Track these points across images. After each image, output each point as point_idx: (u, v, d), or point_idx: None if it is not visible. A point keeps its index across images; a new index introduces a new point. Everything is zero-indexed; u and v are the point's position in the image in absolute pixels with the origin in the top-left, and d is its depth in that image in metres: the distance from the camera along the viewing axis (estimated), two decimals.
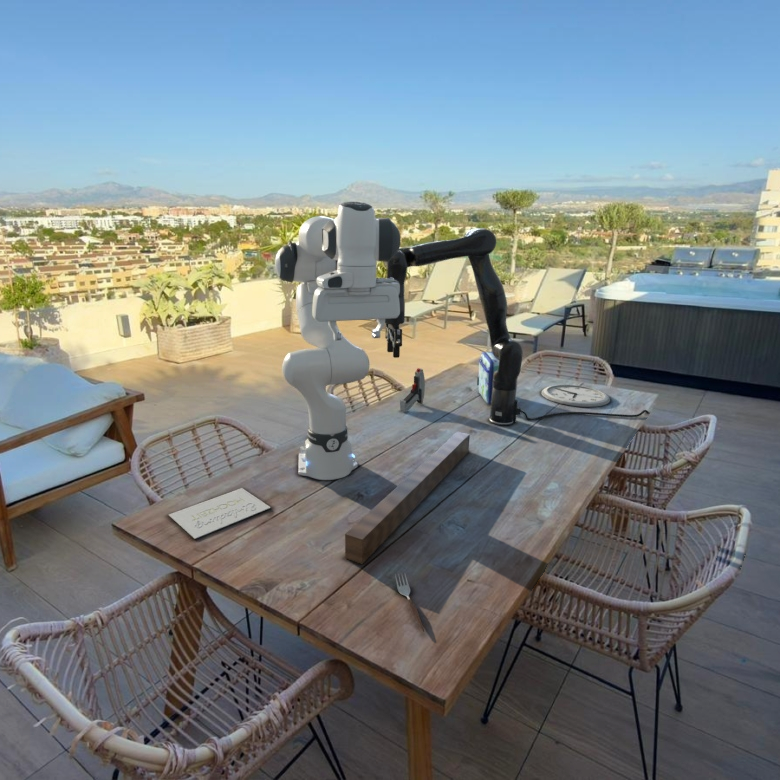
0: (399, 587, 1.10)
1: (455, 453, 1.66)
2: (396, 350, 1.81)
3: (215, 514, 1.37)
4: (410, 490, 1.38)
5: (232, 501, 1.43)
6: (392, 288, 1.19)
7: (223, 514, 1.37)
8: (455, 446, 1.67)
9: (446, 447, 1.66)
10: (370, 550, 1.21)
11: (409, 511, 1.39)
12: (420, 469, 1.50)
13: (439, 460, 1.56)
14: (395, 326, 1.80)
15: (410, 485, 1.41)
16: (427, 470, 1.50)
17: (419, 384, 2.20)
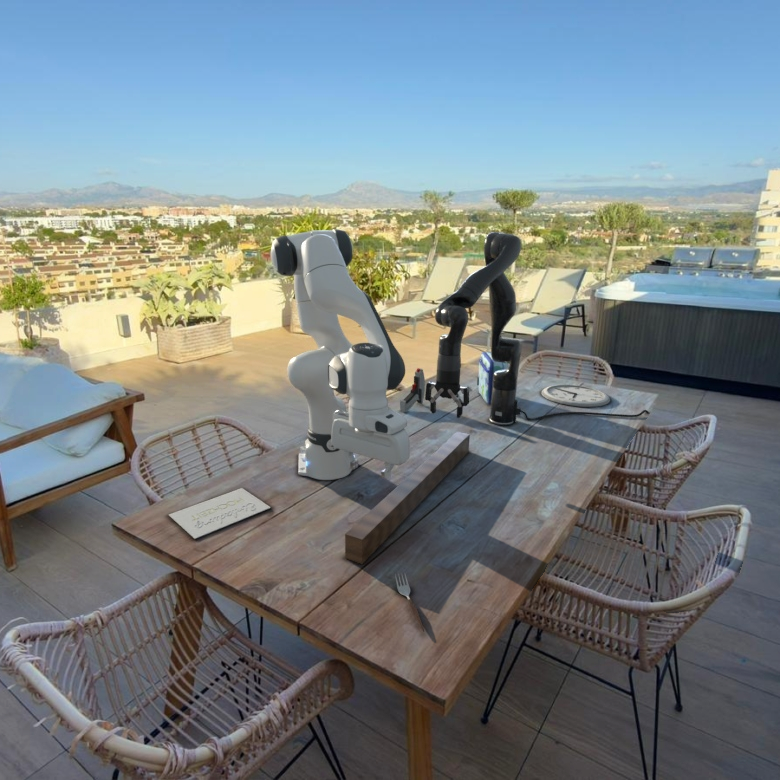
0: (399, 587, 1.10)
1: (455, 453, 1.66)
2: None
3: (215, 514, 1.37)
4: (410, 490, 1.38)
5: (232, 501, 1.43)
6: None
7: (223, 514, 1.37)
8: (455, 446, 1.67)
9: (446, 447, 1.66)
10: (370, 550, 1.21)
11: (409, 511, 1.39)
12: (420, 469, 1.50)
13: (439, 460, 1.56)
14: None
15: (410, 485, 1.41)
16: (427, 470, 1.50)
17: (419, 384, 2.20)
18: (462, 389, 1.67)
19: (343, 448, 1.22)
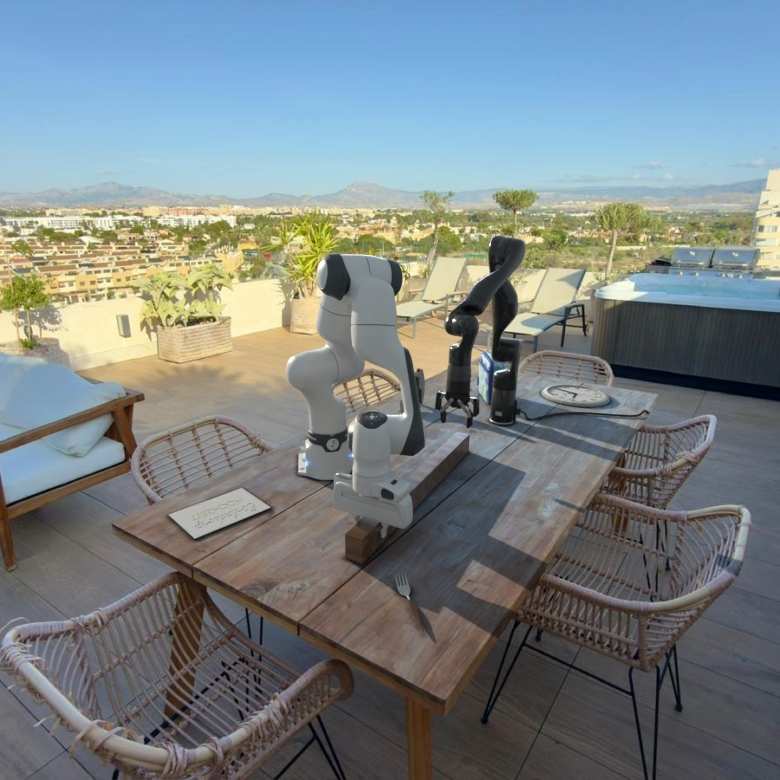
0: (399, 587, 1.10)
1: (455, 453, 1.66)
2: None
3: (215, 514, 1.37)
4: (410, 490, 1.38)
5: (232, 501, 1.43)
6: None
7: (223, 514, 1.37)
8: (455, 446, 1.67)
9: (446, 447, 1.66)
10: (370, 550, 1.21)
11: None
12: (420, 469, 1.50)
13: (439, 460, 1.56)
14: None
15: (410, 485, 1.41)
16: (427, 470, 1.50)
17: (419, 384, 2.20)
18: (472, 399, 1.64)
19: (345, 510, 1.25)
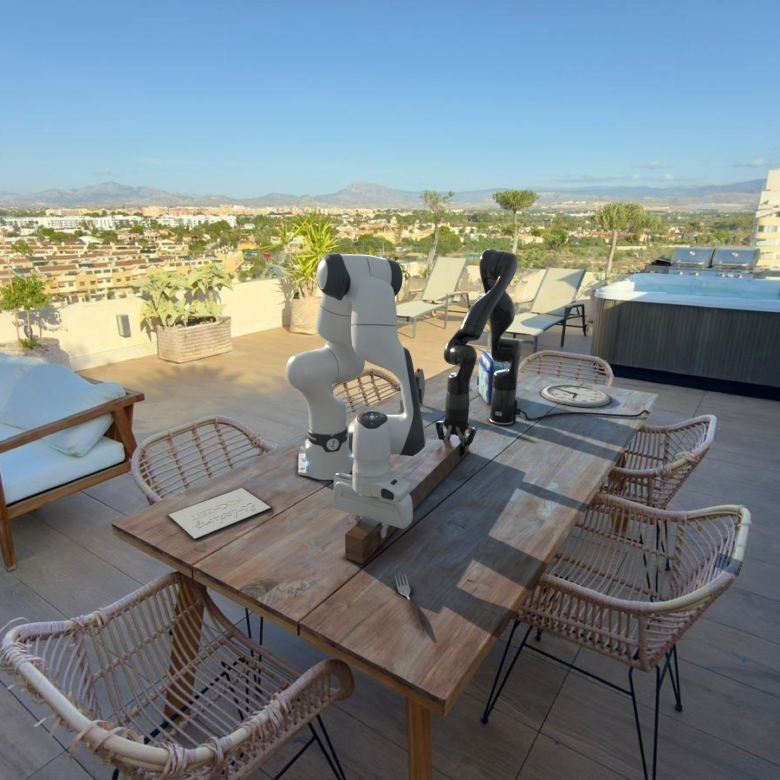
0: (399, 587, 1.10)
1: (455, 453, 1.66)
2: None
3: (215, 514, 1.37)
4: (410, 490, 1.38)
5: (232, 501, 1.43)
6: None
7: (223, 514, 1.37)
8: (455, 446, 1.67)
9: (446, 447, 1.66)
10: (370, 550, 1.21)
11: None
12: (420, 469, 1.50)
13: (439, 460, 1.56)
14: None
15: (410, 485, 1.41)
16: (427, 470, 1.50)
17: (419, 384, 2.20)
18: (470, 429, 1.67)
19: (345, 510, 1.25)
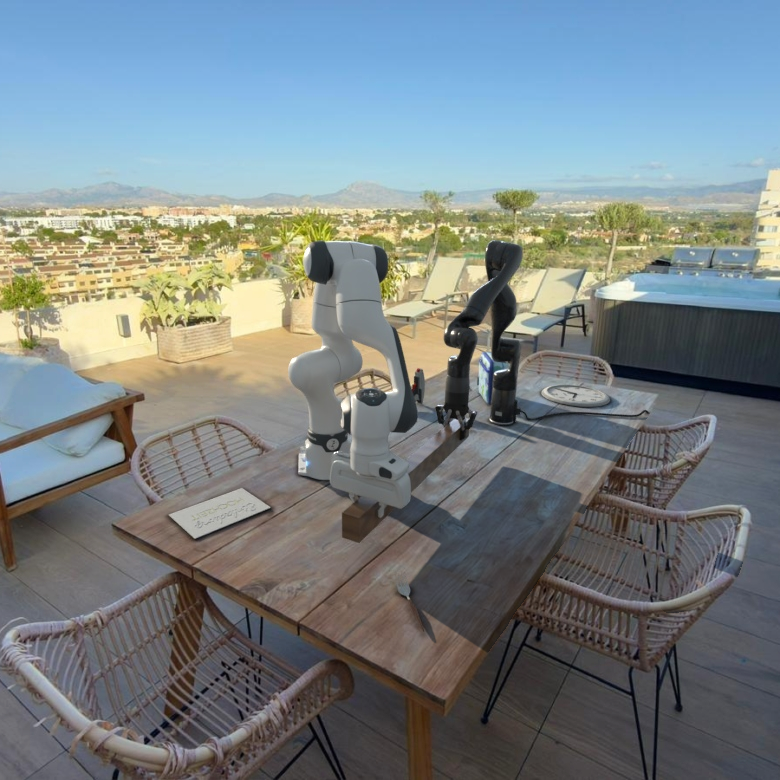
0: (399, 587, 1.10)
1: (455, 437, 1.64)
2: None
3: (215, 514, 1.37)
4: (408, 471, 1.37)
5: (232, 501, 1.43)
6: None
7: (223, 514, 1.37)
8: (455, 430, 1.65)
9: (446, 431, 1.64)
10: (367, 529, 1.20)
11: None
12: (419, 451, 1.49)
13: (439, 443, 1.55)
14: None
15: None
16: (426, 453, 1.48)
17: (419, 384, 2.20)
18: (470, 413, 1.65)
19: (342, 489, 1.23)
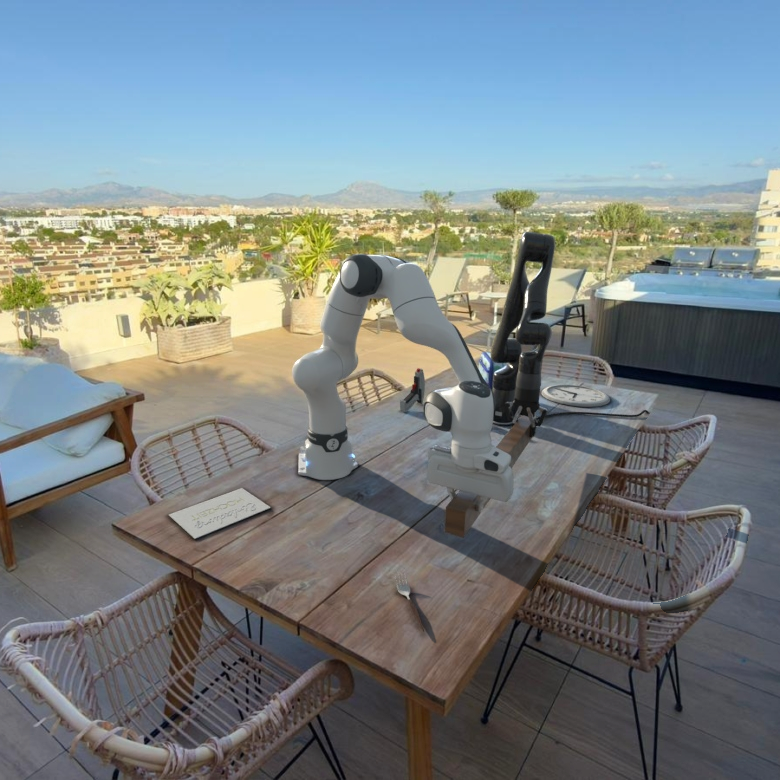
0: (399, 587, 1.10)
1: (526, 433, 1.64)
2: None
3: (215, 514, 1.37)
4: None
5: (232, 501, 1.43)
6: None
7: (223, 514, 1.37)
8: (526, 427, 1.64)
9: (517, 428, 1.63)
10: (469, 524, 1.18)
11: None
12: (499, 447, 1.48)
13: (515, 439, 1.54)
14: None
15: None
16: (506, 449, 1.47)
17: (419, 384, 2.20)
18: (541, 409, 1.65)
19: (440, 484, 1.22)
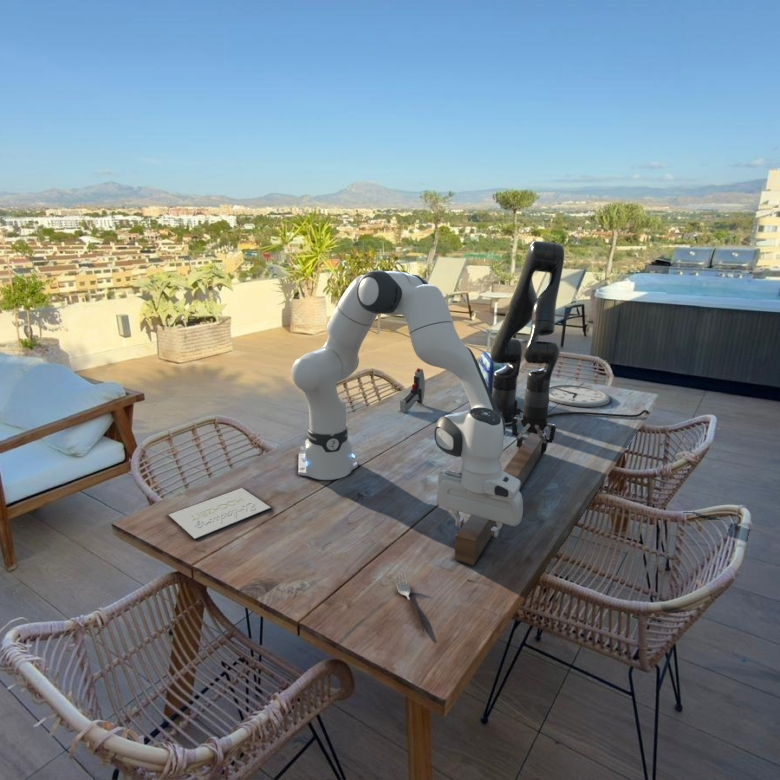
0: (399, 587, 1.10)
1: (534, 454, 1.66)
2: None
3: (215, 514, 1.37)
4: None
5: (232, 501, 1.43)
6: None
7: (223, 514, 1.37)
8: (534, 447, 1.67)
9: (525, 448, 1.66)
10: (479, 551, 1.21)
11: None
12: (507, 470, 1.51)
13: (523, 461, 1.57)
14: (523, 416, 1.70)
15: None
16: (515, 472, 1.50)
17: (419, 384, 2.20)
18: (549, 426, 1.66)
19: (451, 507, 1.24)
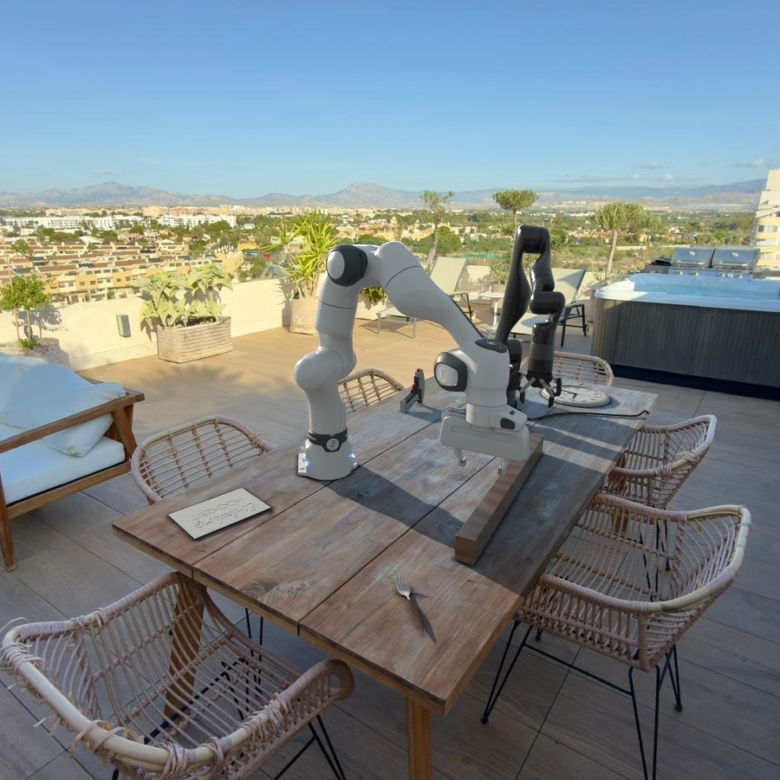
0: (399, 587, 1.10)
1: (534, 454, 1.66)
2: None
3: (215, 514, 1.37)
4: (505, 491, 1.38)
5: (232, 501, 1.43)
6: None
7: (223, 514, 1.37)
8: (534, 447, 1.67)
9: None
10: (479, 551, 1.21)
11: (504, 513, 1.39)
12: (507, 470, 1.51)
13: (523, 461, 1.57)
14: None
15: (503, 486, 1.41)
16: (515, 472, 1.50)
17: (419, 384, 2.20)
18: (555, 379, 1.62)
19: (454, 446, 1.19)
